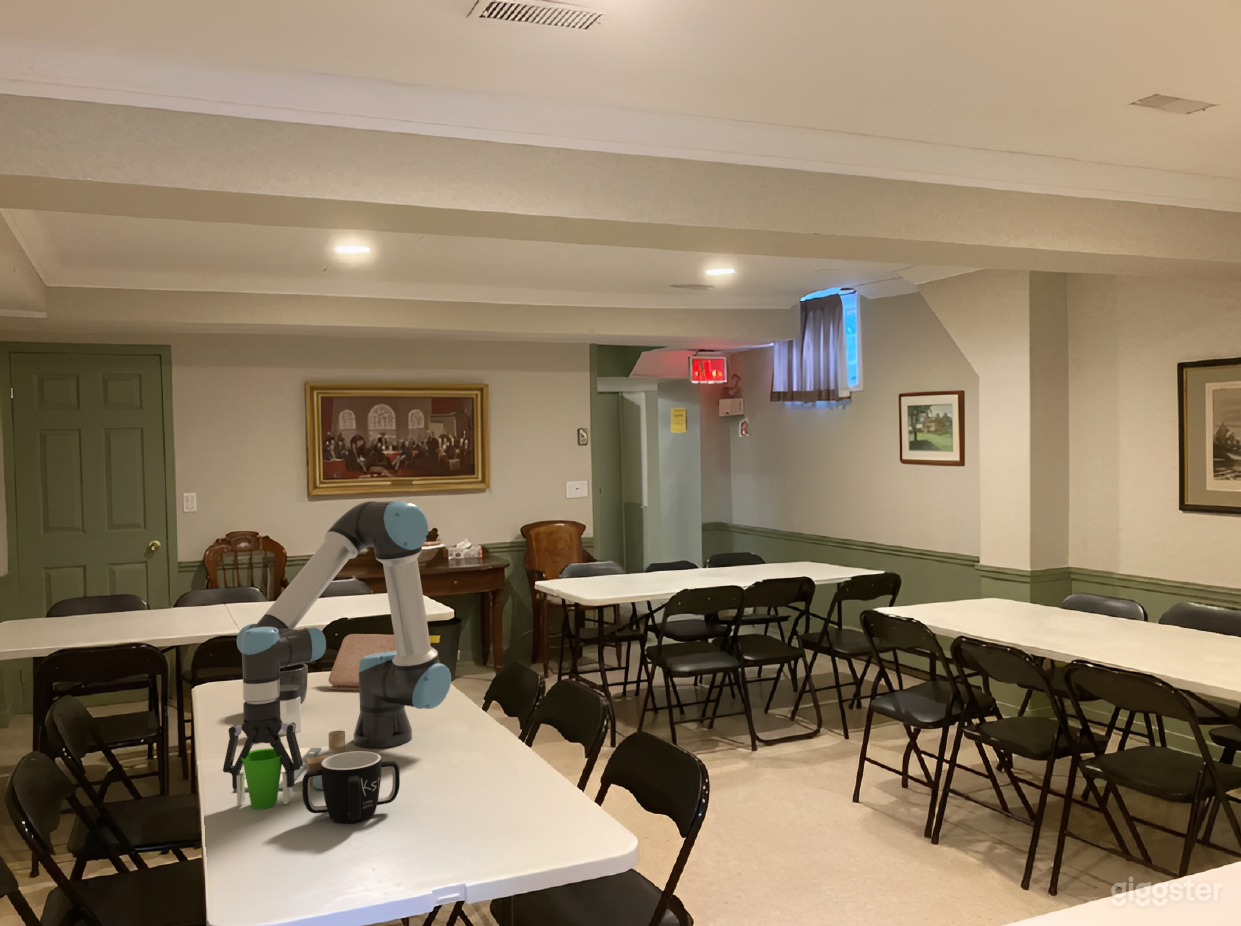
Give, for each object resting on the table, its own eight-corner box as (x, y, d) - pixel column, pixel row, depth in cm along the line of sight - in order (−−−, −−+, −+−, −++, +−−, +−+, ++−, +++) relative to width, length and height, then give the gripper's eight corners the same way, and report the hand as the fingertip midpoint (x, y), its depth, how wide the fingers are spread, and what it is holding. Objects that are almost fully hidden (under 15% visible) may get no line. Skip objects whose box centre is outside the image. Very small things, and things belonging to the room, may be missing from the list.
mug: (349, 837, 191) (348, 776, 191) (295, 822, 199) (294, 764, 199) (408, 810, 205) (407, 754, 205) (355, 797, 213) (354, 743, 213)
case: (325, 691, 313) (325, 642, 313) (353, 676, 334) (353, 630, 334) (385, 693, 310) (384, 643, 309) (410, 678, 330) (409, 631, 330)
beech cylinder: (347, 753, 245) (346, 730, 245) (343, 758, 241) (342, 734, 241) (331, 754, 245) (330, 730, 245) (327, 759, 241) (326, 735, 241)
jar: (268, 728, 270) (268, 685, 270) (299, 725, 273) (298, 682, 273) (270, 737, 261) (269, 693, 261) (302, 733, 265) (301, 689, 264)
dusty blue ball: (331, 785, 221) (330, 770, 221) (327, 791, 218) (326, 775, 218) (315, 786, 221) (314, 770, 221) (311, 791, 218) (310, 775, 217)
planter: (318, 707, 292) (317, 664, 292) (280, 718, 280) (279, 674, 280) (288, 701, 299) (287, 660, 299) (249, 712, 288) (248, 669, 287)
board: (321, 749, 249) (321, 746, 249) (287, 789, 219) (287, 786, 219) (273, 751, 248) (273, 748, 248) (233, 791, 218) (233, 788, 218)
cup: (244, 815, 204) (243, 763, 204) (239, 801, 212) (238, 752, 212) (288, 807, 208) (287, 756, 208) (282, 794, 216) (281, 745, 216)
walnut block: (328, 775, 229) (328, 754, 229) (331, 782, 224) (330, 760, 224) (306, 779, 227) (306, 757, 227) (308, 785, 222) (308, 763, 222)
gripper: (316, 693, 214) (319, 794, 214) (216, 696, 213) (219, 798, 213) (307, 702, 207) (310, 806, 207) (204, 705, 205) (206, 810, 206)
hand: (264, 802), depth 210 cm, fingers closed on cup, 9 cm apart
